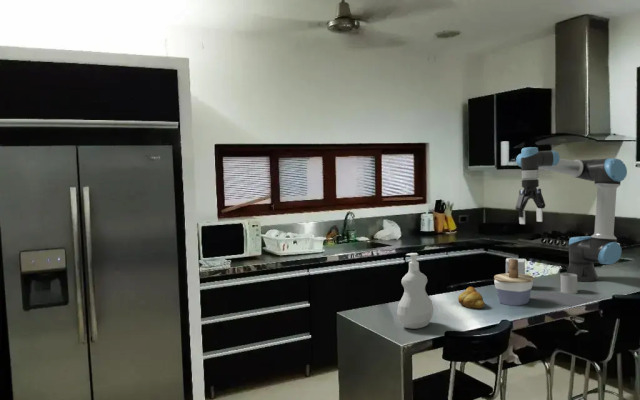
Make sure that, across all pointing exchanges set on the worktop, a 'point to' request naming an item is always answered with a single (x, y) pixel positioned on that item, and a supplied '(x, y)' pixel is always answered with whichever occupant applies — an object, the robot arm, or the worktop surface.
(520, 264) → the supplement box
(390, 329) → the worktop surface
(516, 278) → the lid
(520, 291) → the bowl
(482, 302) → the bread roll
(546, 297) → the mat
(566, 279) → the cup
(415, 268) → the soap bottle
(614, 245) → the robot arm
